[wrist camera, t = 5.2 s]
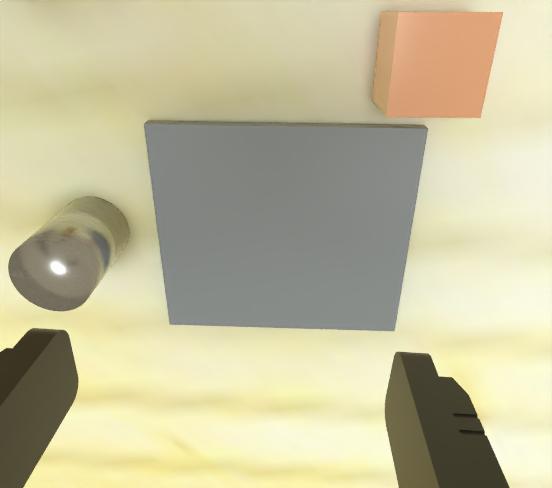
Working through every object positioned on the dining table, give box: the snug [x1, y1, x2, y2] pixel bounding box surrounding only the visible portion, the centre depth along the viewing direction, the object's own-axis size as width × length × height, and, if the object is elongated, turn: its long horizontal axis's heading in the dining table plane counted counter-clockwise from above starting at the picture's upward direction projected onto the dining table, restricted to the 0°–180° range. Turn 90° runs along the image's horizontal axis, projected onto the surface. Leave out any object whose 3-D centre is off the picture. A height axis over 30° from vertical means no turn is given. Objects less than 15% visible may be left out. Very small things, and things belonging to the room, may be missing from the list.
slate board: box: [144, 121, 428, 331], centre depth 32 cm, size 18×16×1 cm
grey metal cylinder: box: [8, 197, 129, 311], centre depth 30 cm, size 5×5×7 cm
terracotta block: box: [372, 11, 503, 118], centre depth 25 cm, size 5×5×5 cm
